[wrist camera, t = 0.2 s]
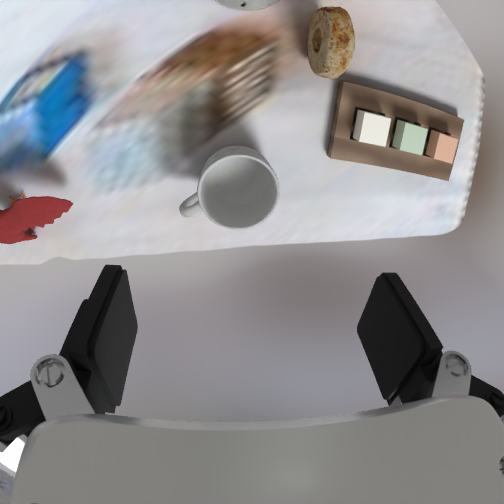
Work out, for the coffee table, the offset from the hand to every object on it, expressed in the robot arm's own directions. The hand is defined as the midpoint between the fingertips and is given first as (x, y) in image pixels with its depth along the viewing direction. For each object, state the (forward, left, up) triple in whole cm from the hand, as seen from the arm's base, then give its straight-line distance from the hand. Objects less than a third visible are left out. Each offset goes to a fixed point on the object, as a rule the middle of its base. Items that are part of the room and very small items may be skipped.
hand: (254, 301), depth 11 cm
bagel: (-14, +10, -37) cm, 41 cm away
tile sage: (-3, +27, -34) cm, 44 cm away
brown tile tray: (-3, +26, -36) cm, 45 cm away
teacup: (+8, -1, -37) cm, 38 cm away
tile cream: (-3, +20, -34) cm, 40 cm away
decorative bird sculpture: (+14, -39, -37) cm, 55 cm away
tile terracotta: (-3, +34, -35) cm, 48 cm away
